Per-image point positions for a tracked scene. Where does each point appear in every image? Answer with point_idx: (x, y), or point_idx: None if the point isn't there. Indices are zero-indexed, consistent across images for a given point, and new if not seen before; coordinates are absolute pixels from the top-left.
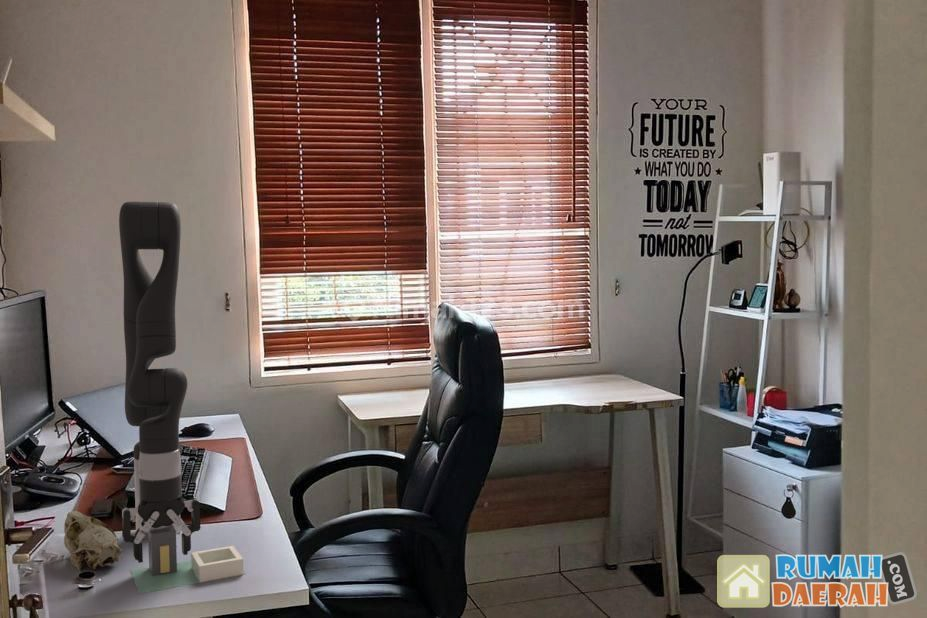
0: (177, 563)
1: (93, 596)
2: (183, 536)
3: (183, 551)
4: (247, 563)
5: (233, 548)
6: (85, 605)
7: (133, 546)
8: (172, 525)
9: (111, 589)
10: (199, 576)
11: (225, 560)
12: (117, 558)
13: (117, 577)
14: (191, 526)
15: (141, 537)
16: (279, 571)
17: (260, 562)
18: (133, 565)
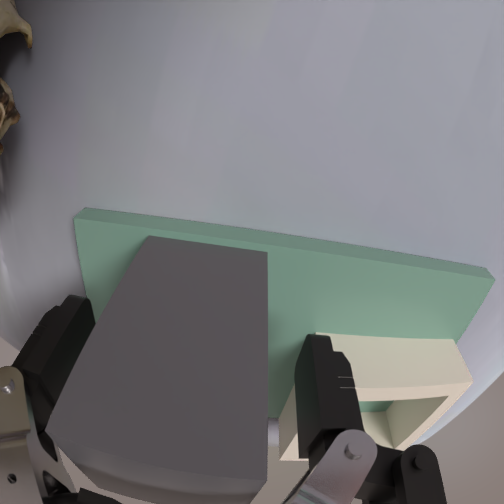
0: (289, 256)
1: (10, 298)
2: (302, 455)
3: (297, 375)
4: (475, 328)
5: (451, 402)
6: (10, 331)
7: (23, 355)
8: (255, 492)
9: (39, 284)
10: (279, 431)
11: None
12: (6, 131)
13: (43, 190)
14: (359, 498)
15: (48, 444)
16: (463, 393)
17: (493, 336)
18: (110, 70)
